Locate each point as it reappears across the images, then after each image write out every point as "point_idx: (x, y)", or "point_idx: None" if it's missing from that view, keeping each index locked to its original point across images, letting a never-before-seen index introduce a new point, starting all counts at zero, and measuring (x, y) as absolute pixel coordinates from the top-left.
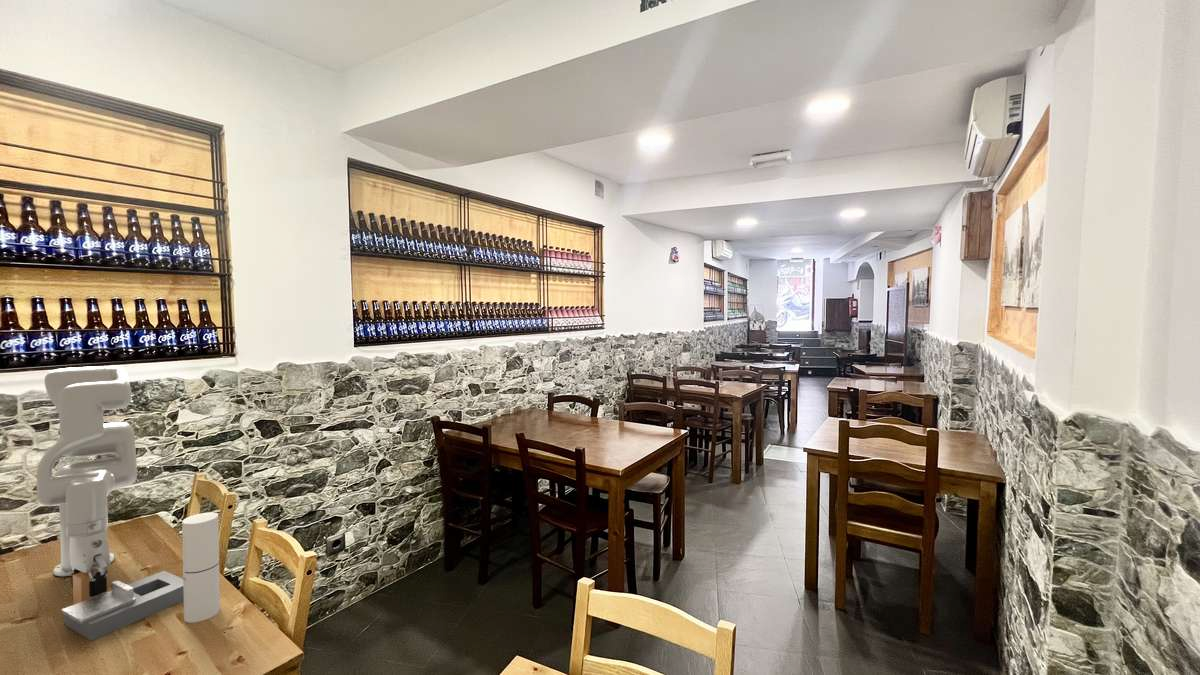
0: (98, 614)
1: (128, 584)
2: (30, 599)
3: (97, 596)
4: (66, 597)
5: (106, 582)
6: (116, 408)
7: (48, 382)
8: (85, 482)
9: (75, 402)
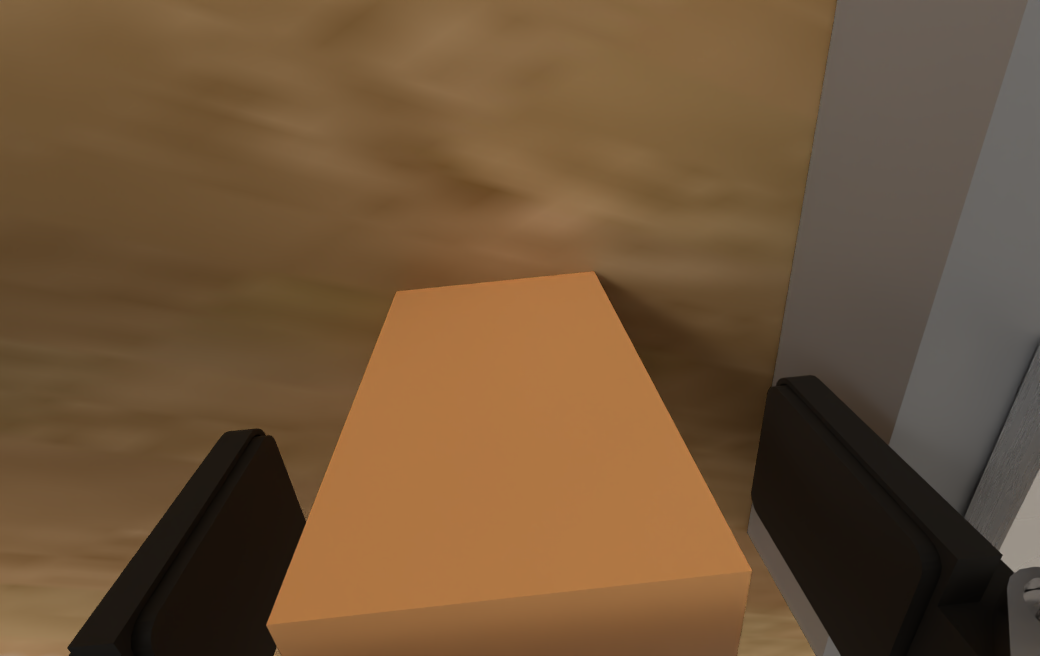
0: None
1: (1002, 147)
2: (15, 591)
3: (1030, 531)
4: (195, 451)
5: (894, 457)
6: None
7: None
8: None
9: None
